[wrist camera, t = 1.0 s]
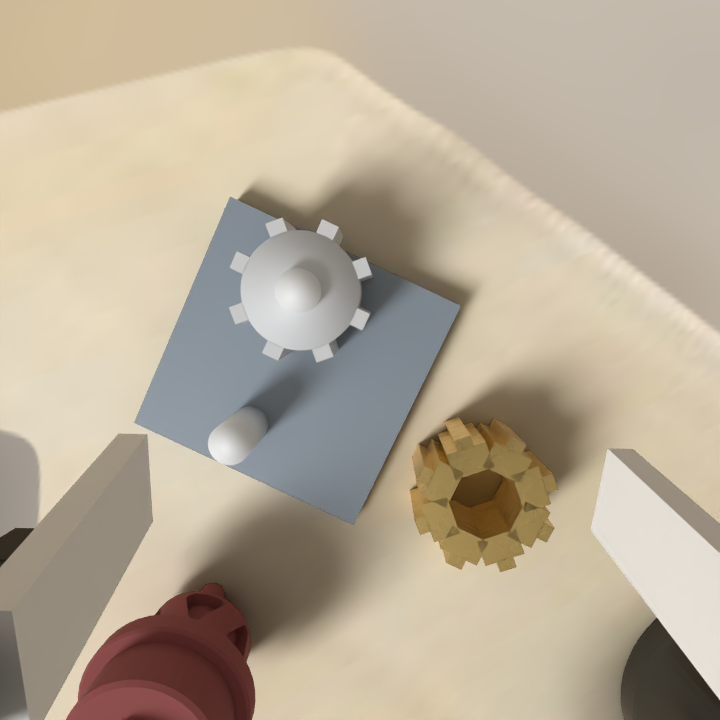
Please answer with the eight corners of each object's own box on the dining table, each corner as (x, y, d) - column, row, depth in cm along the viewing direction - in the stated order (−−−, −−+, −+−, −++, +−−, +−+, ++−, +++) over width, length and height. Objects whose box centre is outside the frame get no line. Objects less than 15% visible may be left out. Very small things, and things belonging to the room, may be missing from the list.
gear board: (463, 294, 36) (483, 293, 29) (354, 515, 38) (348, 565, 31) (241, 189, 35) (207, 162, 28) (143, 417, 37) (90, 445, 30)
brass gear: (556, 448, 37) (584, 472, 32) (499, 556, 38) (517, 595, 33) (442, 394, 36) (452, 410, 32) (388, 504, 38) (389, 536, 33)
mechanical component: (129, 673, 40) (150, 545, 38) (263, 702, 40) (288, 574, 38) (17, 841, 27) (43, 660, 26) (211, 883, 27) (245, 704, 26)
